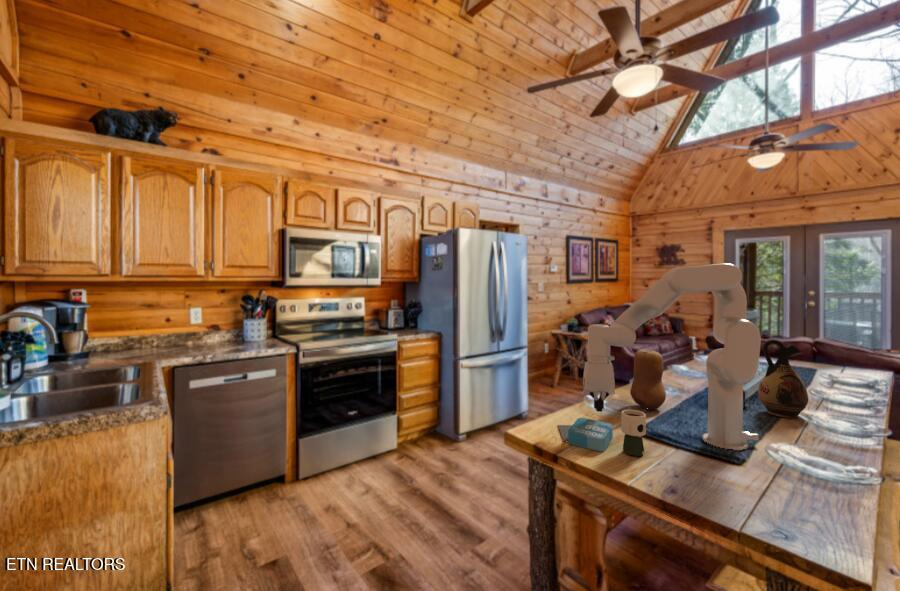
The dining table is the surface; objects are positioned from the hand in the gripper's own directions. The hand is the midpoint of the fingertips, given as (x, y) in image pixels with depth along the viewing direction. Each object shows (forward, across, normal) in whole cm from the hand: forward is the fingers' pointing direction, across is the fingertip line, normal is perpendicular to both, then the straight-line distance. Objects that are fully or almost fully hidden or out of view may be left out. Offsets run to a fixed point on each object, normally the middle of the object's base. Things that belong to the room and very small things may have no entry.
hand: (598, 410), depth 142 cm
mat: (+9, +7, 0) cm, 11 cm away
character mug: (+9, -7, +15) cm, 19 cm away
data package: (+5, +1, +2) cm, 5 cm away
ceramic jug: (+9, -77, -28) cm, 82 cm away
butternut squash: (+9, -28, -32) cm, 43 cm away
